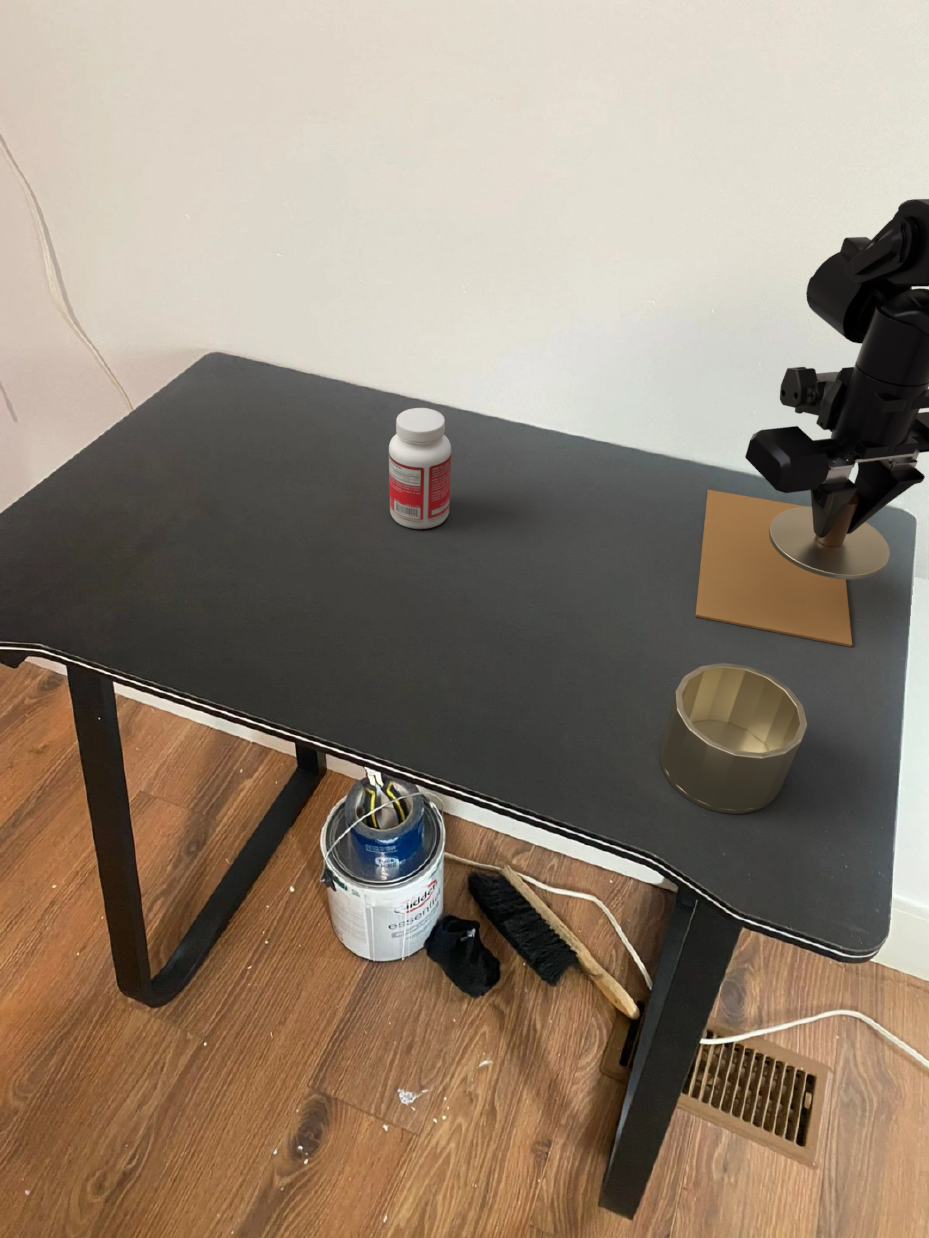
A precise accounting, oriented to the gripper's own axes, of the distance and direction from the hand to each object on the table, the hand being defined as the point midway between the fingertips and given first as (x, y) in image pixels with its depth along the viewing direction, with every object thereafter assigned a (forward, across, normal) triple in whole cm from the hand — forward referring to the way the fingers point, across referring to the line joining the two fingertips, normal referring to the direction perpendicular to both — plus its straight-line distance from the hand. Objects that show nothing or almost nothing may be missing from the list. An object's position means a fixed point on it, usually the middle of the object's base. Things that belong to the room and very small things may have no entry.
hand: (832, 533), depth 82 cm
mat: (+8, 0, -7) cm, 11 cm away
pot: (+8, +17, +16) cm, 25 cm away
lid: (+1, 0, 0) cm, 1 cm away
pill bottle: (+8, +32, -22) cm, 40 cm away
